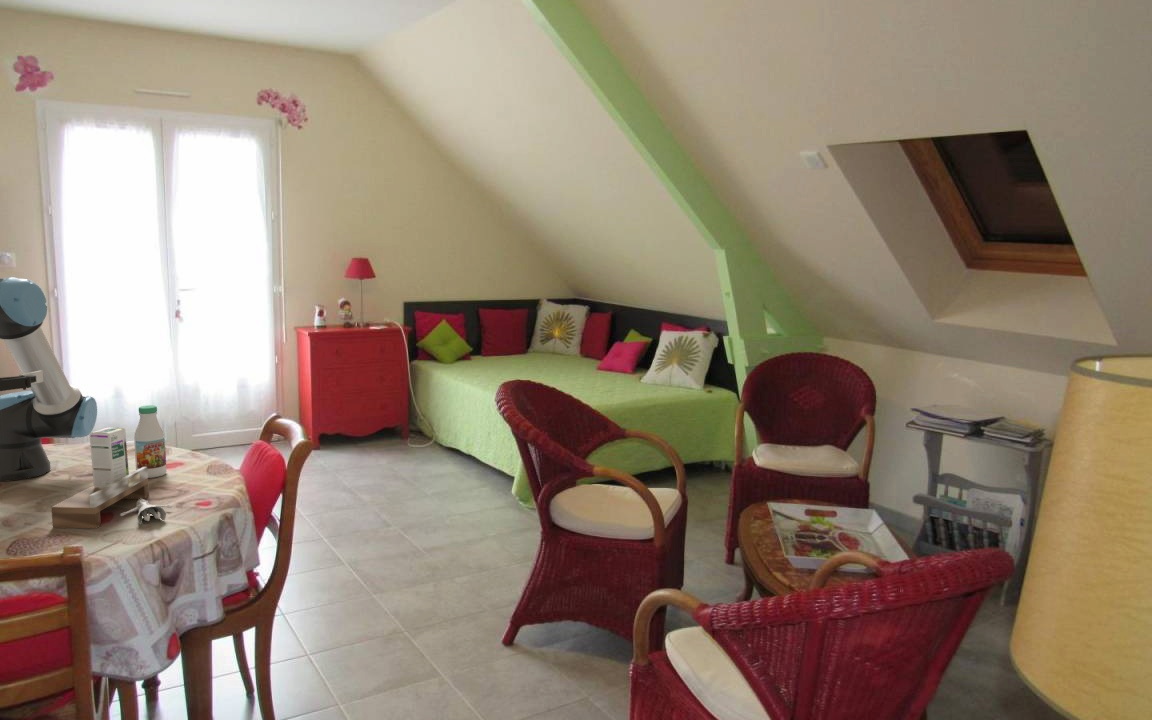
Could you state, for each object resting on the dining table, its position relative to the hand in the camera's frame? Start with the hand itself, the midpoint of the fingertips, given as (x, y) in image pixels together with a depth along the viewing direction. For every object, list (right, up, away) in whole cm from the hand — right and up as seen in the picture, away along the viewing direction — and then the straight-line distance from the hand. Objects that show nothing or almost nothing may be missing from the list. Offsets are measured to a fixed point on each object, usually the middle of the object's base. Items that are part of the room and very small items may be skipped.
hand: (14, 375), depth 193 cm
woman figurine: (+30, -35, +3) cm, 46 cm away
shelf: (+18, -34, +6) cm, 39 cm away
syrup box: (+17, -28, +10) cm, 35 cm away
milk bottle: (+14, -29, +37) cm, 49 cm away
